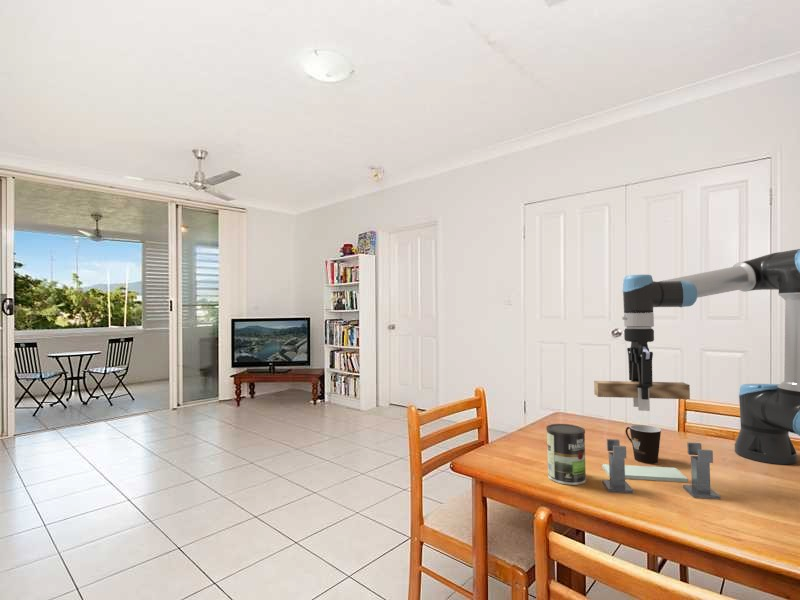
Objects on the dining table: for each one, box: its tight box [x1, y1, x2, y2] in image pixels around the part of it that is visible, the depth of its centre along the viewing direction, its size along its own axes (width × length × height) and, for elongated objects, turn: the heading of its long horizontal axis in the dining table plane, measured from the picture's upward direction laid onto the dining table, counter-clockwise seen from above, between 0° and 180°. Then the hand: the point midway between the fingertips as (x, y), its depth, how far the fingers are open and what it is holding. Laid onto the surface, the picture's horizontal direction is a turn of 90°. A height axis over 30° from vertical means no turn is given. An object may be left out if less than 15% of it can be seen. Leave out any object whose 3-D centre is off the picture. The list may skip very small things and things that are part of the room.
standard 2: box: [682, 442, 722, 500], centre depth 109 cm, size 6×6×12 cm
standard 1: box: [601, 438, 634, 495], centre depth 113 cm, size 6×6×12 cm
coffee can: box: [545, 423, 587, 486], centre depth 120 cm, size 10×10×14 cm
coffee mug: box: [625, 424, 662, 465], centre depth 134 cm, size 12×9×10 cm
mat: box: [601, 463, 689, 483], centre depth 121 cm, size 20×8×1 cm, turn 79°
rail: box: [593, 380, 691, 400], centre depth 122 cm, size 24×4×4 cm, turn 79°
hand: (641, 408), depth 122 cm, fingers closed on rail, 4 cm apart
